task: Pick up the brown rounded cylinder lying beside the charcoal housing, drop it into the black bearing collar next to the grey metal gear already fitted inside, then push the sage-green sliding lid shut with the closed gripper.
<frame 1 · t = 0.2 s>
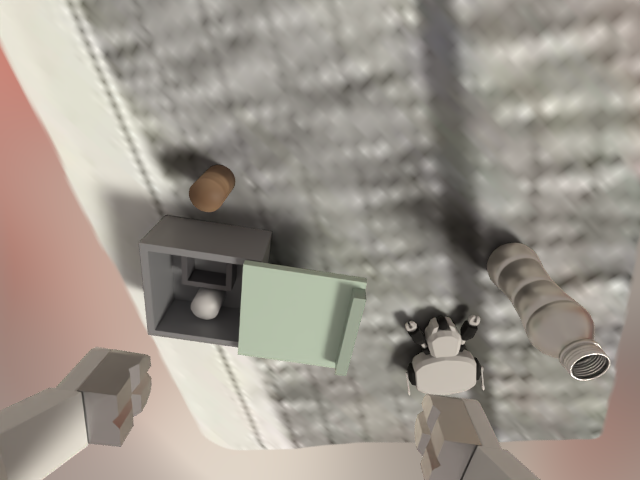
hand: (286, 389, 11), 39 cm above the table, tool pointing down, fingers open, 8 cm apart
robot toy: (439, 343, 61), on the table
lid: (297, 323, 47), point 10 cm above the table, slide at 13.0 cm
brown rounded cylinder: (220, 179, 49), on the table
plastic bottle: (505, 256, 53), on the table
housing: (218, 267, 55), on the table
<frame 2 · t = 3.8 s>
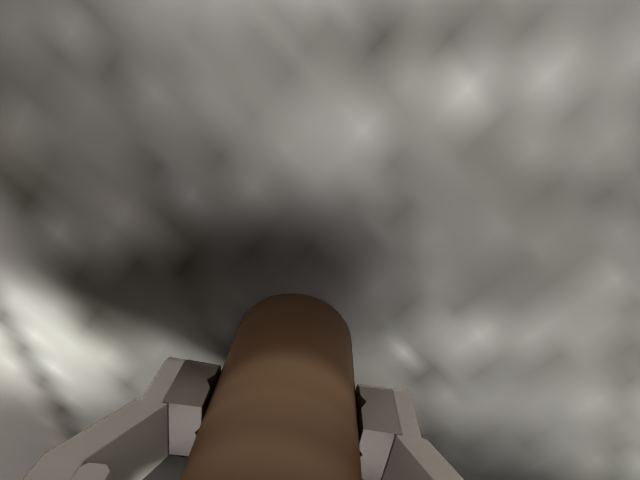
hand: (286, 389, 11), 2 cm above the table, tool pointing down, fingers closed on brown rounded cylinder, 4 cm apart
brown rounded cylinder: (294, 343, 13), on the table, touching gripper
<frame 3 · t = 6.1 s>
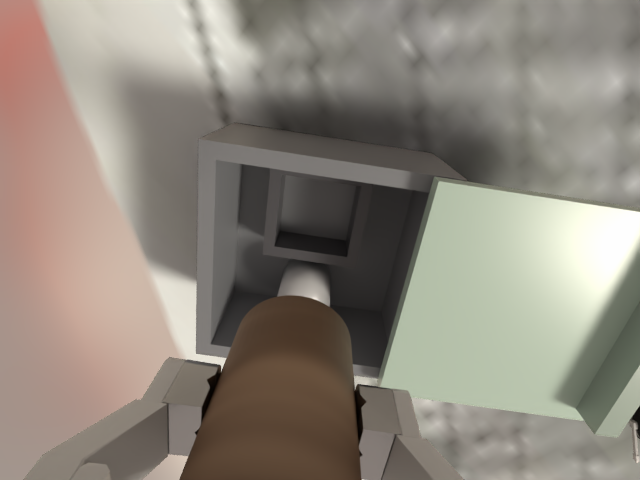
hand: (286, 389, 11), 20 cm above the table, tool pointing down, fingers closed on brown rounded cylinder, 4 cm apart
lid: (529, 323, 22), point 10 cm above the table, slide at 13.0 cm
brown rounded cylinder: (293, 344, 13), point 18 cm above the table, touching gripper
housing: (319, 229, 30), on the table
when the fingers open (5 cm above the table, at t = 8.6 s): brown rounded cylinder drops 2 cm, resting on housing.
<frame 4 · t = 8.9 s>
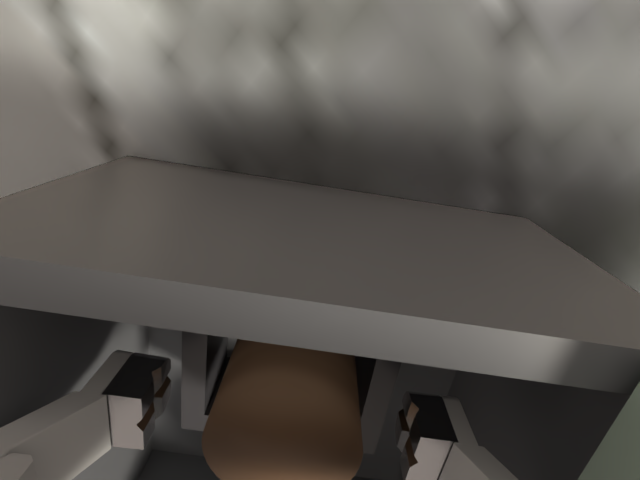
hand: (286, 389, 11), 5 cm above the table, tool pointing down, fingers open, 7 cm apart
brown rounded cylinder: (300, 313, 15), point 1 cm above the table, touching housing
housing: (303, 348, 17), on the table
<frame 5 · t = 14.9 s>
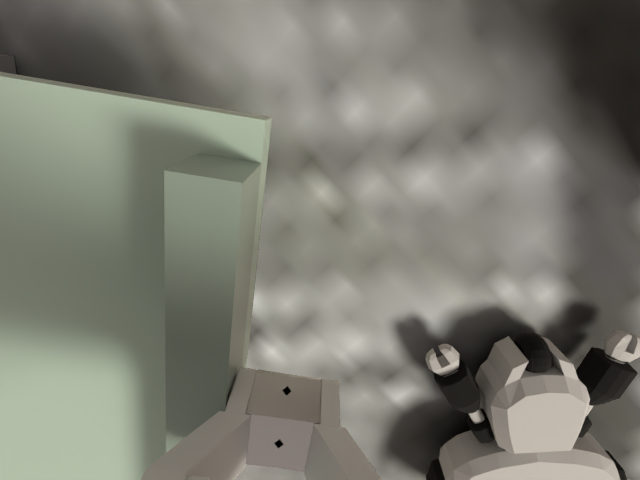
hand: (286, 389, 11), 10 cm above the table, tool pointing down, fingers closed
robot toy: (505, 408, 24), on the table
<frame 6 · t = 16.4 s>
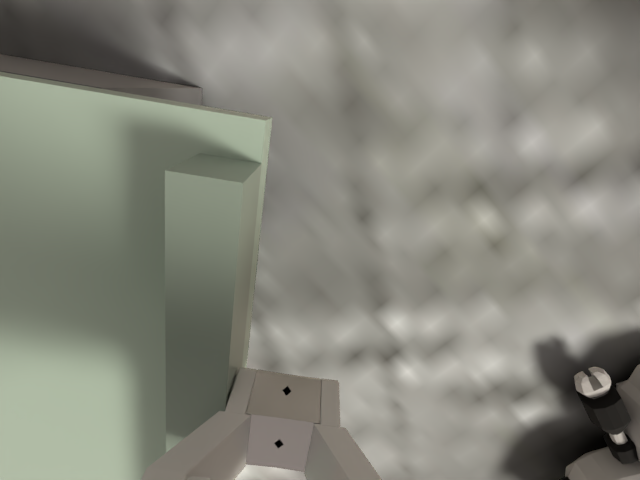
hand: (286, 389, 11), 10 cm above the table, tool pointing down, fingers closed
robot toy: (628, 427, 25), on the table
housing: (56, 214, 20), on the table
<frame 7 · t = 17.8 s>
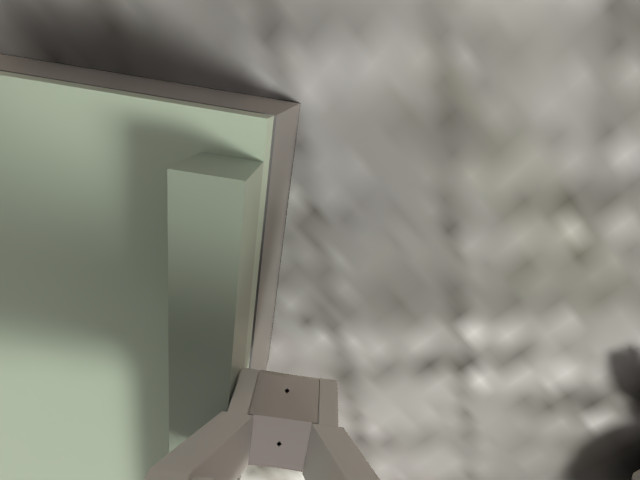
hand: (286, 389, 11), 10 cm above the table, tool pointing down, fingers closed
housing: (143, 227, 20), on the table
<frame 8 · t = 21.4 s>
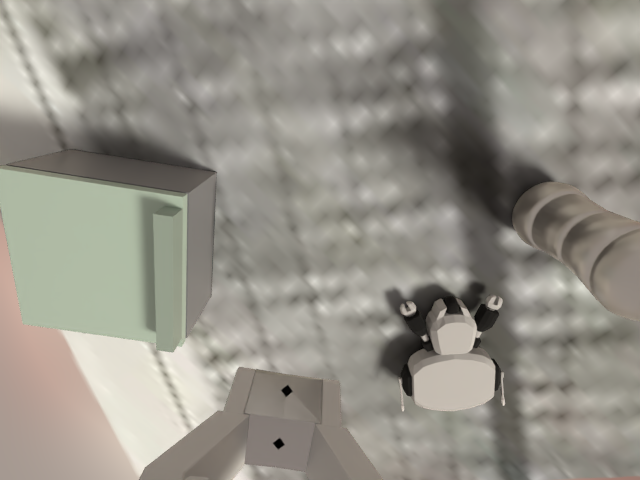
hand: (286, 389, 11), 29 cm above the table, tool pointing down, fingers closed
robot toy: (443, 339, 46), on the table
lid: (92, 268, 32), point 10 cm above the table, slide at 0.0 cm
plastic bottle: (535, 207, 39), on the table
housing: (146, 228, 41), on the table
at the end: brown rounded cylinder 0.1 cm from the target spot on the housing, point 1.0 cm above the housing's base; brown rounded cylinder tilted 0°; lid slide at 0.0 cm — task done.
